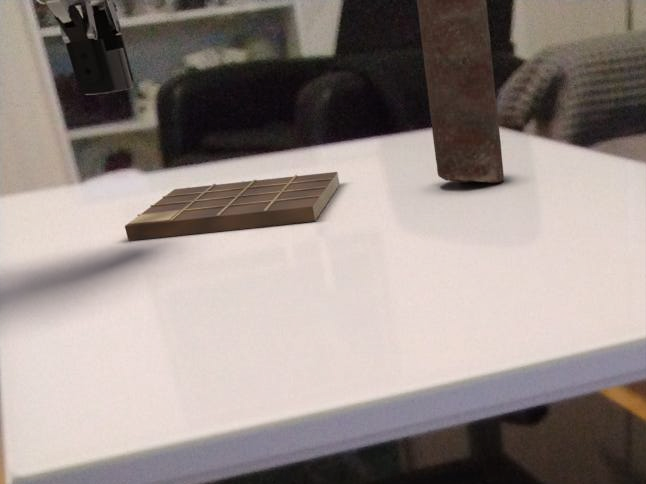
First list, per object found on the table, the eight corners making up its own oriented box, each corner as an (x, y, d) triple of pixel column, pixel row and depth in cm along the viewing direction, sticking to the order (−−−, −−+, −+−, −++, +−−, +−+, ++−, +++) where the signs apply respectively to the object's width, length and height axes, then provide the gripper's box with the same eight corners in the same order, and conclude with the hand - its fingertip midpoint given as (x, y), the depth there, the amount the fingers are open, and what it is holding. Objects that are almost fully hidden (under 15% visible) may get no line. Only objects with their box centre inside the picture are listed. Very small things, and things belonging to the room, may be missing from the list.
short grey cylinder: (77, 96, 92) (65, 56, 91) (94, 90, 96) (83, 51, 94) (124, 91, 92) (113, 50, 90) (139, 85, 96) (129, 46, 94)
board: (128, 240, 107) (123, 224, 106) (177, 202, 124) (173, 188, 123) (315, 221, 106) (312, 205, 105) (339, 185, 123) (337, 170, 122)
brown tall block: (454, 193, 111) (431, -25, 100) (426, 185, 116) (401, -22, 105) (515, 181, 113) (500, -34, 102) (485, 174, 119) (467, -31, 108)
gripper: (35, -148, 91) (100, 83, 101) (-52, -164, 77) (33, 105, 87) (116, -160, 90) (173, 74, 101) (43, -178, 76) (117, 95, 87)
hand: (107, 86), depth 94 cm, fingers closed on short grey cylinder, 4 cm apart
